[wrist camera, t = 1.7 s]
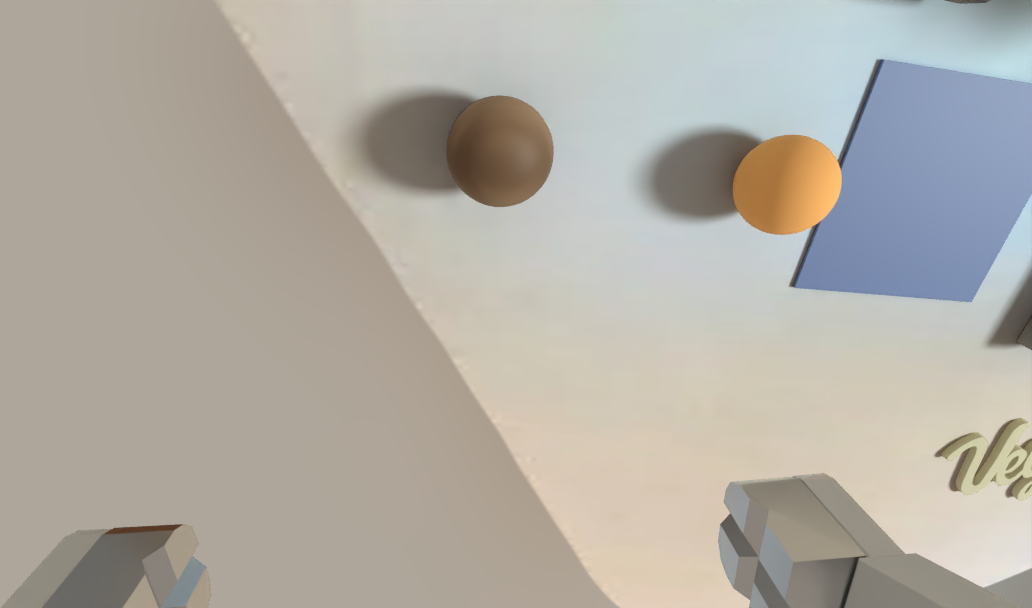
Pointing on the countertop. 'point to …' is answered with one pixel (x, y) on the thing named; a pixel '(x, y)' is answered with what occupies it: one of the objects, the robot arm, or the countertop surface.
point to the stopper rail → (1026, 336)
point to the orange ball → (787, 184)
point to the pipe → (969, 1)
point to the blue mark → (926, 186)
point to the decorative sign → (994, 461)
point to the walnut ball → (499, 151)
